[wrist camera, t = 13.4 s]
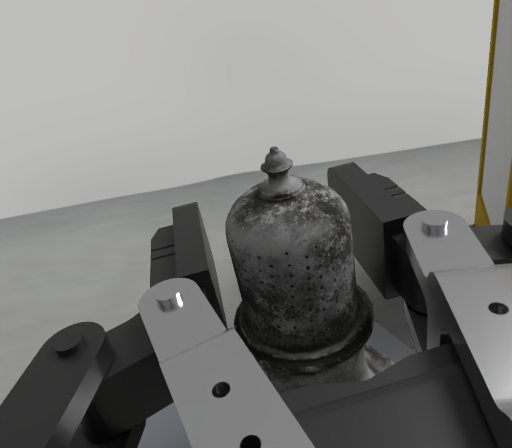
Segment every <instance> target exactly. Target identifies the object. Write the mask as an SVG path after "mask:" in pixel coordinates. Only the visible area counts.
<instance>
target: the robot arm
mask: <svg viewBox="0 0 512 448" xmlns="http://www.w3.org/2000/svg"><path fill="white" fill-rule="evenodd" d="M327 177H328V186H329V187H330V188H332V189H333V190H334V191H335V192H336V193H337V194H338V195H339V196H341V198H342V199H343V200H344V202H345V203H346V205H347V208H348V211H349V214H350V219H351V228H352V241H353V253H354V256H355V258H356V259H357V260H358V262H359V263H360V265H361V266H362V267H363V269H364V270H365V271H366V273H367V274H368V276H369V277H370V278H371V280H372V281H373V282H374V284H375V285H376V287H377V288H378V289H379V291H380V292H381V293H382V295H383V296H384V298H385V299H386V300H387V299H390V298H394V297H397V296H402V297H403V299H404V313H405V317H406V320H407V323H408V326H409V329H410V332H411V335H412V338H413V341H414V344H415V347H416V350H417V353H415V354H411V355H409V356H407V357H405V358H404V359H402V360H400V361H399V362H397V363H395V364H394V365H392V366H390V367H388V368H387V369H385V370H383V371H382V372H380V373H378V374H377V375H375V376H373V377H372V378H370V379H368V380H365V381H359V382H345V383H330V384H316V385H307V386H303V387H300V388H297V389H293V390H290V391H287V392H283V393H280V394H278V392H277V391H276V389H275V388H274V386H273V385H272V383H271V382H270V380H269V379H268V377H267V376H266V374H265V373H264V372H263V370H262V369H261V367H260V366H259V364H258V363H257V361H256V360H255V358H254V357H253V355H252V354H251V352H250V351H249V349H248V348H247V346H246V345H245V344H244V342H243V341H242V339H241V338H240V336H239V335H238V333H237V332H236V331H235V330H234V329H233V328H230V329H228V328H227V323H226V318H225V313H224V308H223V303H222V298H221V294H220V289H219V284H218V279H217V274H216V269H215V264H214V260H213V256H212V252H211V249H210V245H209V242H208V238H207V235H206V231H205V228H204V224H203V221H202V217H201V214H200V210H199V207H198V204H197V202H194V203H190V204H186V205H182V206H178V207H174V208H172V212H173V225H171V226H167V227H163V228H159V229H158V230H157V232H156V233H155V235H154V236H153V238H152V239H151V268H150V289H149V290H147V291H146V292H145V293H144V294H143V296H142V297H141V299H140V301H139V304H138V309H139V313H138V314H137V315H136V316H134V317H133V318H131V319H130V320H128V321H127V322H125V323H123V324H121V325H119V326H117V327H115V328H113V329H111V330H109V331H107V332H105V331H104V329H103V327H102V326H101V325H99V324H97V323H94V322H81V323H77V324H74V325H71V326H68V327H66V328H64V329H62V330H60V331H59V332H57V333H56V334H54V335H53V336H52V337H51V338H49V339H48V340H47V341H46V342H45V343H44V345H43V346H42V347H41V349H40V350H39V351H38V353H37V354H36V356H35V357H34V359H33V360H32V361H31V363H30V364H29V366H28V367H27V369H26V370H25V371H24V373H23V374H22V376H21V377H20V378H19V380H18V381H17V383H16V384H15V386H14V387H13V388H12V390H11V391H10V393H9V394H8V395H7V397H6V398H5V400H4V401H3V403H2V404H1V405H0V448H138V445H139V442H140V440H141V437H142V434H143V431H144V429H145V425H146V419H147V418H149V417H150V416H152V415H154V414H155V413H157V412H159V411H160V410H162V409H164V408H165V407H167V406H168V405H170V404H172V403H173V402H174V403H175V406H176V408H177V411H178V413H179V416H180V418H181V421H182V423H183V426H184V428H185V431H186V434H187V436H188V439H189V441H190V444H191V446H192V448H512V206H511V207H509V208H508V209H507V210H506V211H505V213H504V217H503V225H489V226H471V227H470V226H468V224H467V223H466V221H465V220H464V219H463V218H462V217H460V216H459V215H457V214H454V213H451V212H448V211H442V210H426V209H425V208H424V207H423V206H422V205H420V204H419V203H418V202H417V201H416V200H414V199H413V198H412V197H411V196H410V195H408V194H406V193H405V191H404V190H402V189H401V188H400V187H398V185H396V184H395V183H394V182H393V181H392V180H390V179H389V178H387V177H384V176H381V175H378V174H375V173H372V174H366V173H365V172H364V171H363V170H362V169H361V168H360V167H359V166H358V165H356V164H355V163H354V162H351V163H347V164H343V165H339V166H335V167H331V168H329V169H328V172H327Z"/></svg>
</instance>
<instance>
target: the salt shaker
mask: <svg viewBox="0 0 512 448" xmlns="http://www.w3.org/2000/svg"><path fill="white" fill-rule="evenodd" d="M292 166H293V161H292V160H291V159H288V158H286V155H285V153H283V152H281V151H279V149H278V148H277V147H271V148H270V153H268V154H267V155H266V158H265V162H264V163H263V164H262V165H261V170H262V171H263V172H265V173H267V174H268V179H266V180H265V181H263V182H262V183H260V184H258V185H256V186H254V187H252V188H251V189H249V190H248V191H247V192H246V193H244V194H243V195H242V196H240V197H239V198H238V199H237V200H236V202H235V203H234V204H233V206H232V208H231V210H230V212H229V214H228V216H227V220H226V239H227V244H228V247H229V251H230V255H231V259H232V263H233V267H234V270H235V274H236V278H237V282H238V286H239V290H240V293H241V297H242V302H241V303H240V305H239V307H238V309H237V310H236V315H235V320H234V327H235V331H236V332H237V333H238V335H239V336H240V338H241V339H242V341H243V342H244V344H245V345H246V346H247V348H248V349H249V351H250V352H251V354H252V355H253V357H254V358H255V360H256V361H257V363H258V364H259V366H260V367H261V369H262V370H263V372H264V373H265V374H266V376H267V377H268V379H269V380H270V382H271V383H272V385H273V386H274V388H275V389H276V391H277V392H278V394H280V393H283V392H287V391H290V390H293V389H297V388H300V387H303V386H307V385H316V384H330V383H345V382H359V381H365V380H368V379H370V378H372V377H373V376H375V375H377V374H378V373H380V372H382V371H383V370H385V369H387V368H388V367H390V366H392V365H394V364H395V363H394V362H393V361H392V360H391V359H390V358H388V357H387V356H385V355H384V354H382V353H381V352H379V351H378V350H376V349H375V348H373V347H372V346H369V345H367V344H366V342H367V341H368V339H369V338H370V336H371V334H372V331H373V326H374V322H375V316H374V310H373V304H372V302H371V301H370V299H369V297H368V296H367V294H366V292H364V291H363V290H362V289H361V288H360V287H359V286H358V285H357V284H356V277H355V265H354V253H353V241H352V228H351V219H350V214H349V211H348V208H347V205H346V203H345V202H344V200H343V199H342V198H341V196H339V195H338V194H337V193H336V192H335V191H334V190H333V189H332V188H330V187H329V186H327V185H325V184H323V183H320V182H317V181H314V180H310V179H307V178H301V177H297V176H294V175H289V173H288V170H289V169H290V168H291V167H292Z"/></svg>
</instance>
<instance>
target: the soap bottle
mask: <svg viewBox="0 0 512 448" xmlns="http://www.w3.org/2000/svg"><path fill="white" fill-rule="evenodd" d="M511 206H512V0H494V9H493V20H492V31H491V42H490V53H489V66H488V77H487V87H486V99H485V110H484V121H483V133H482V144H481V155H480V166H479V177H478V189H477V200H476V211H475V222H474V224H475V226H489V225H503V217H504V213H505V211H506V210H507V209H508V208H509V207H511Z"/></svg>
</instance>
